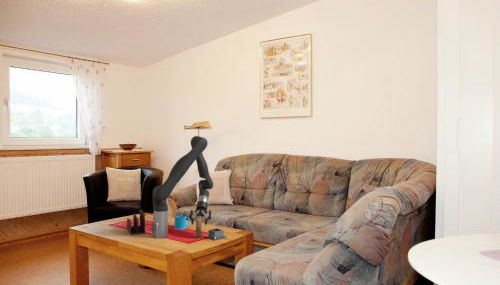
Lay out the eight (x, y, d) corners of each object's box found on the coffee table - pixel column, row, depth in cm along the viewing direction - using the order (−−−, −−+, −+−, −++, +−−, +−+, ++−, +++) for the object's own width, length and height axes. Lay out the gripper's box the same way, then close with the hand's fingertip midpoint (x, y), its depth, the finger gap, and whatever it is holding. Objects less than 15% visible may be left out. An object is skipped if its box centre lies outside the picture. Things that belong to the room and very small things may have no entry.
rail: (197, 238, 244) (198, 217, 243) (194, 237, 246) (194, 216, 246) (202, 237, 246) (202, 216, 246) (199, 236, 249) (199, 215, 249)
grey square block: (214, 240, 240) (214, 232, 240) (205, 237, 247) (205, 229, 247) (226, 237, 246) (226, 230, 246) (217, 234, 254) (217, 227, 254)
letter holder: (140, 227, 273) (140, 208, 272) (145, 234, 255) (145, 213, 254) (126, 228, 268) (126, 209, 268) (130, 235, 250) (130, 214, 250)
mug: (177, 230, 266) (177, 218, 266) (172, 227, 272) (172, 216, 272) (192, 227, 273) (192, 216, 273) (187, 225, 280) (187, 214, 280)
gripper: (191, 200, 256) (187, 220, 245) (212, 200, 255) (209, 221, 244) (193, 206, 261) (189, 226, 250) (213, 207, 260) (210, 227, 249)
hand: (198, 224), depth 247 cm, fingers open, 8 cm apart
